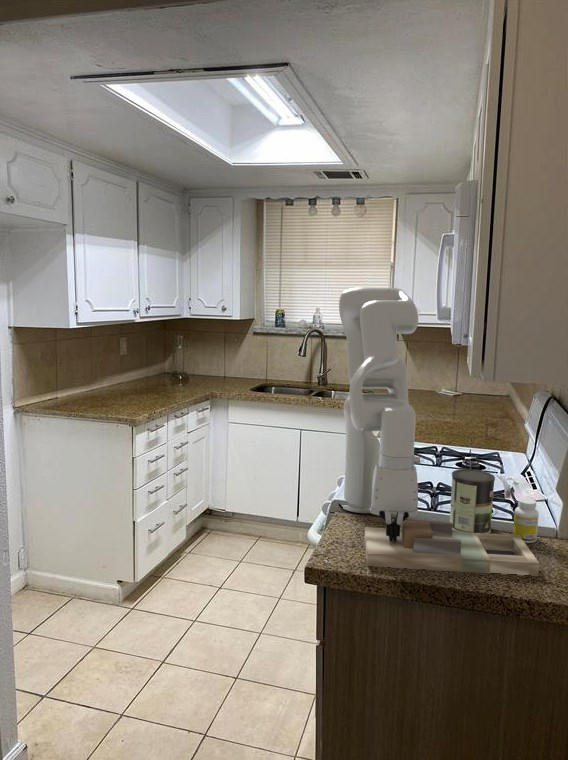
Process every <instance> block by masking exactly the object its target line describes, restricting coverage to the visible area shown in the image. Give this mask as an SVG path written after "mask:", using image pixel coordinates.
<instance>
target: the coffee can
mask: <svg viewBox="0 0 568 760" xmlns="http://www.w3.org/2000/svg"><path fill="white" fill-rule="evenodd" d="M495 481H496V476H495V475H494V474H493V473H490V472H487V471H484V470H481V469H474V468H472V469H471V468H463V469H462V468H461V469H460V468H459V469H455V470H453V471H452V473H451V491H450V492H451V493H450V494H451V495H450V509H449V522H452V524H453V527H452V532H467V533H486V534H491V532H492V517H493V516H492V515H493V514H492V513H493V503H494V502H493V501H494V489H495V487H494V486H495Z"/></svg>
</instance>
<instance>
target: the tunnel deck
mask: <svg viewBox="0 0 568 760" xmlns="http://www.w3.org/2000/svg"><path fill="white" fill-rule="evenodd" d="M408 521H417V520H413V519H412V520H411V519H408ZM424 521H425V522H429V523H430V526H431V529H432V532H433V535H432V538H415V537H414V539H413V548H404V545H403V540H402V528H400V537H397V542H395V541H389V536H386V527H371V526H370V527H368V526H365V527H364V536H363V537H364V547H365V548H364V549H365V558H366V566H367V567H369V566H374V567H373V568H387V567H391V568H390V569H404V568H407V569H406V570H421V569H426V571H439V572H440V571H441V572H443V571H444V572H458V573H473V574H474V572H475V573H476V574H490V573H501V574H500V575H507V574H517V575H516V576H524V575H531V576H530V577H539V573H540V571H539V570H540V562H539V561H538V559H537V557H536V556H535V555H534V553H533V552H532V550H531V549H530V548H529V547H528V545H527V543H524V541H523V540H522V539H521V537H520V536H519V535H513V534H507V533H506V534H505V533H504V534H502V533H489V534H486V533H467V532H455V531H453V530H452V527H453V524H452V522H450V521H432V520H431V521H430V520H424ZM427 569H428V570H427Z"/></svg>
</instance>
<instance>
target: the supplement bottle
mask: <svg viewBox="0 0 568 760" xmlns="http://www.w3.org/2000/svg"><path fill="white" fill-rule="evenodd" d="M517 505H518V506H517V507H516V508H515V509H514V514H513V515H514V517H513V530H512V531H513V532H512V535H519V536H520V537H521V539H522V540H523V541H524V543H525V544H532V543H535V542H537V538H538V530H539V529H538V527H539V514H540V513H539V511H538V510H537V501H536V500H535V499H532V498H528V497H520V498H518V503H517Z"/></svg>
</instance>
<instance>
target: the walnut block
mask: <svg viewBox="0 0 568 760" xmlns="http://www.w3.org/2000/svg"><path fill="white" fill-rule="evenodd" d="M408 520H409V519H408ZM408 520H407V519H406V520H404V521H403V522H402V524H401V526H402V528H401V529H402V540H403V545H404V548H413V539H414V537H415V538H432V535H433V532H432V529H431V526H430V523H429V522H425V521H426V520H416V521H408Z"/></svg>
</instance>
